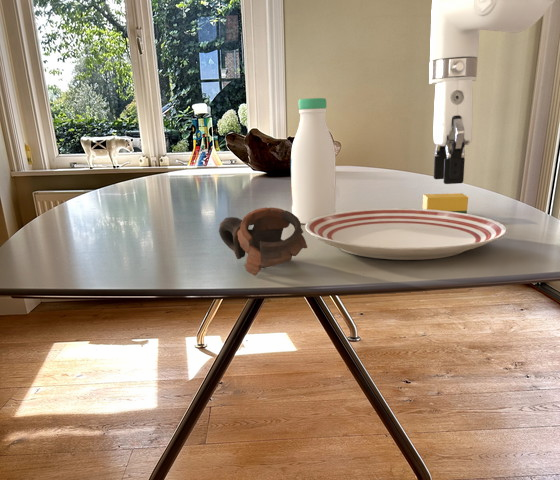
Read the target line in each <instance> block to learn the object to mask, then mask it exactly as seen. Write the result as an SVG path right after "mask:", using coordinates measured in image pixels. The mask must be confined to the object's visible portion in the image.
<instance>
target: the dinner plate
mask: <svg viewBox="0 0 560 480" xmlns="http://www.w3.org/2000/svg"><path fill="white" fill-rule="evenodd" d="M304 229H305V231H306V232H307V233H308V234H310V235H311V236H312V237H313V238H315V239H317V240H318V241H320V242H322V243H325V244H327V245H329V246H332V247H334V248H337V249H339V250H341V251H343V252H345V253H348V254H351V255H355V256H360V257H365V258H371V259H379V260H382V259H383V260H392V261H393V260H395V261H397V260H398V261H419V260H421V261H422V260H435V259H442V258H443V259H444V258H449V257H453V256H457V255H460V254H462V253H464V252H466V251H470V250H474V249H477V248H479V247H483V246H485V245H488V244H490V243H492V242H496V241H498V240H500V239H502V238H503V237H505V236H506V235H507V228H506V227H505V225H504V224H502V223H501V222H500V221H496V220H494V219H491V218H488V217H484V216H481V215H475V214H470V213H467V214H464V213H457V212H449V211H440V210H427V209H422V208H407V207H404V208H401V207H399V208H398V207H391V208H388V207H387V208H366V209H355V210H347V211H340V212H335V213H334V214H329V215H325V216H321V217H318V218H315V219H313V220H310V221H309V222H308V223H307V224H304Z"/></svg>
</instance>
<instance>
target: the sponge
mask: <svg viewBox="0 0 560 480" xmlns="http://www.w3.org/2000/svg"><path fill="white" fill-rule="evenodd" d="M468 204H469V196H468V195H465V194H464V193H463V192H462V193H460V192H459V193H455V192H454V193H426V194H425V193H423V195H422V208H421V209H427V210H440V211H449V212H457V213H464V214H468V206H469V205H468Z"/></svg>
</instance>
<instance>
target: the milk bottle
mask: <svg viewBox="0 0 560 480" xmlns="http://www.w3.org/2000/svg"><path fill="white" fill-rule="evenodd" d="M298 109H299V110H298V114H299V115H300V116H299V123H298V128H297V131H296V133H295V136H294V139H293V142H292V146H291V154H290V179H291V180H290V181H291V182H290V183H291V185H290V186H291V213H292V214H294V215H295V216H296V217H297V218H298V219H299V221H300V224H304V225H306V224H307V223H308V222H309V221H310V220H313V219H315V218H318V217H321V216H325V215H329V214H334V213H336V209H337V207H336V205H337V204H336V201H337V200H336V199H337V198H336V193H337V192H336V191H337V190H336V188H337V185H336V176H337V175H336V174H337V173H336V149H335V143H334V141H333V137H332V136H331V132H330V131H329V128H328V125H327V121H326V113H327V99H326V98H325V97H317V98H316V97H313V98H311V97H309V98H300V99H298Z"/></svg>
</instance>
